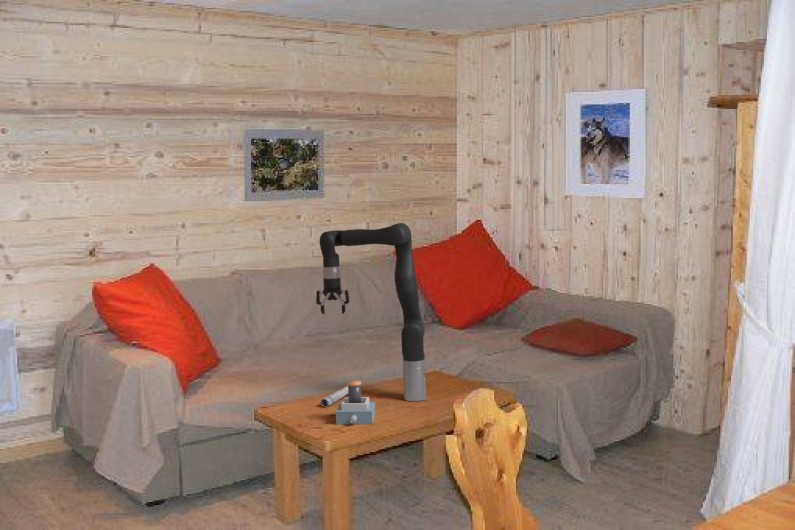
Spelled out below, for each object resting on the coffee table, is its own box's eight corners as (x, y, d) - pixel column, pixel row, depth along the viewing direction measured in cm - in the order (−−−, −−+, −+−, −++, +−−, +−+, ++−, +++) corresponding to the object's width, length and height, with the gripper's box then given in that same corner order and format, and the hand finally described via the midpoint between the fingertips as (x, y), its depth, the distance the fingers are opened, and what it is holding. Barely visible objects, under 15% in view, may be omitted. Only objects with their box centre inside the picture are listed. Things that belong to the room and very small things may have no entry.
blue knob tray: (375, 414, 359) (374, 395, 358) (371, 426, 342) (370, 407, 341) (340, 414, 360) (340, 396, 359) (335, 426, 343) (334, 407, 342)
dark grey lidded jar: (362, 404, 354) (361, 380, 353) (361, 408, 349) (360, 383, 348) (349, 405, 355) (348, 380, 354) (347, 408, 349) (346, 383, 348)
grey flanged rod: (318, 398, 372) (351, 377, 393) (320, 413, 374) (353, 391, 394) (328, 399, 370) (361, 378, 390) (330, 414, 371) (363, 392, 392)
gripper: (314, 278, 384) (315, 315, 386) (347, 277, 383) (348, 314, 385) (316, 276, 391) (318, 312, 393) (349, 275, 391) (350, 311, 392)
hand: (333, 313), depth 389 cm, fingers open, 8 cm apart
